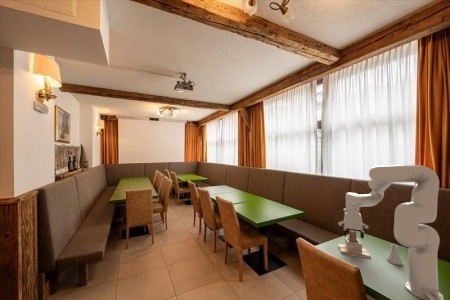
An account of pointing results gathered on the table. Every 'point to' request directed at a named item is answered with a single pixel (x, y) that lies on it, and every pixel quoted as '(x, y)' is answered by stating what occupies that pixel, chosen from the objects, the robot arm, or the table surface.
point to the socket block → (353, 249)
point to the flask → (394, 256)
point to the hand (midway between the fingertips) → (353, 236)
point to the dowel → (352, 236)
